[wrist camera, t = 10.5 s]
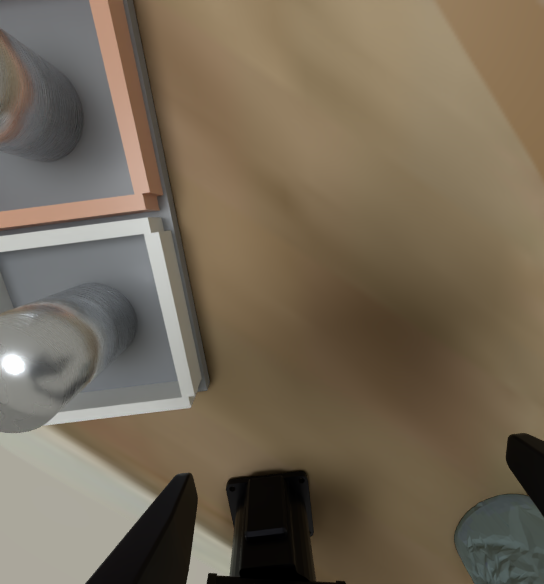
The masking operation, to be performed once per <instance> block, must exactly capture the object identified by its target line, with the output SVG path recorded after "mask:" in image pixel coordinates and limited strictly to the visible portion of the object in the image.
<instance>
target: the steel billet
mask: <svg viewBox="0 0 544 584" xmlns="http://www.w3.org/2000/svg"><path fill="white" fill-rule="evenodd" d="M83 126H84V115H83V108H82V104H81V101H80V98H79V96H78V93H77V91H76V90H75V88H74V86H73V85H72V83H71V82H70V81H69V79H68V78H67V77H66V76H65V75H64V74H63V73H62V72H61V71H60V70H59V69H58V68H56V67H55V66H53V65H52V64H51V63H49V62H48V61H46V60H45V59H44V58H42V57H41V56H39V55H38V54H37V53H35V52H34V51H32V50H31V49H30V48H28V47H27V46H25V45H24V44H23V43H21V42H20V41H19V40H17V39H16V38H14V37H13V36H12V35H10V34H9V33H7V32H6V31H5V30H3V29H2V28H0V152H2V153H6V154H10V155H14V156H18V157H22V158H26V159H30V160H35V161H40V162H51V161H56V160H59V159H62V158H64V157H65V156H67V155H68V154H69V153H71V152H72V151H73V150H74V149H75V147H76V146H77V144H78V143H79V140H80V138H81V135H82V132H83Z"/></svg>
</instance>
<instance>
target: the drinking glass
mask: <svg viewBox="0 0 544 584" xmlns="http://www.w3.org/2000/svg"><path fill="white" fill-rule="evenodd" d="M454 541H455V545H456V549H457V552H458V554H459V556H460V558H461V560H462V562H463V564H464V566H465V567H466V569H467V571H468V573H469V574H470V576H471V578H472V580H473V582H474V584H544V517H543V516H542V514H541V513H540V511H539V510H538V508H537V507H536V505H535V504H534V503H533V501H532V500H531V498H530V497H528V496H525V495H519V494H506V495H498V496H495V497H492V498H490V499H487V500H485V501H483V502H480V503H478V504H477V505H476V506H475V507H473V508H471V510H470V511H468V512H467V513H466V514H465V515H464V517H463V518H462V519H461V521H460V522H459V525H458V526H457V529H456V531H455V535H454Z"/></svg>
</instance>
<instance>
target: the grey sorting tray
mask: <svg viewBox="0 0 544 584" xmlns="http://www.w3.org/2000/svg"><path fill="white" fill-rule="evenodd" d="M0 28H2V29H3V30H5V31H6V32H7V33H9V34H10V35H12V36H13V37H14V38H16V39H17V40H19V41H20V42H21V43H23V44H24V45H25V46H27V47H28V48H30V49H31V50H32V51H34V52H35V53H37V54H38V55H39V56H41V57H42V58H44V59H45V60H46V61H48V62H49V63H51V64H52V65H53V66H55V67H56V68H58V69H59V70H60V71H61V72H62V73H63V74H64V75H65V76H66V77H67V78H68V79H69V81H70V82H71V83H72V85H73V86H74V88H75V90H76V91H77V93H78V96H79V98H80V101H81V104H82V108H83V115H84V126H83V132H82V135H81V138H80V140H79V143H78V144H77V146H76V147H75V149H74V150H73V151H72V152H71V153H69V154H68V155H67V156H65V157H64V158H62V159H59V160H56V161H51V162H40V161H35V160H30V159H26V158H22V157H18V156H14V155H10V154H6V153H2V152H0V313H3V312H6V311H8V310H11V309H14V308H17V307H19V306H22V305H25V304H28V303H30V302H33V301H36V300H39V299H41V298H44V297H47V296H50V295H52V294H55V293H58V292H61V291H64V290H66V289H69V288H72V287H75V286H77V285H80V284H84V283H100V284H105V285H108V286H110V287H112V288H114V289H116V290H118V291H119V292H121V293H122V294H123V295H124V296H125V297H126V298H127V299H128V300H129V301H130V303H131V304H132V306H133V308H134V310H135V313H136V316H137V321H138V327H137V333H136V336H135V338H134V340H133V342H132V343H131V344H130V345H129V346H128V347H127V348H126V349H125V350H124V351H123V352H122V353H121V354H120V355H119V356H118V357H117V358H116V359H115V360H114V361H112V362H111V363H110V364H109V365H108V366H107V367H106V368H105V369H104V370H103V371H102V372H101V373H100V374H99V375H98V376H97V377H95V378H94V379H93V380H92V381H91V382H90V383H89V384H88V385H87V386H86V387H85V388H84V389H83V390H82V391H81V392H80V393H78V394H77V395H76V396H75V397H74V398H73V399H72V400H71V401H70V402H69V403H68V404H67V405H66V406H65V407H64V408H63V409H61V410H60V411H59V412H58V413H57V414H56V415H55V416H54V417H53V418H52V419H51V420H50V421H49V422H47V423H46V424H44V425H52V424H60V423H69V422H77V421H85V420H93V419H102V418H110V417H118V416H126V415H135V414H143V413H151V412H159V411H168V410H176V409H184V408H191V406H192V404H193V401H194V398H195V396H196V393H197V392H199V391H207V390H208V387H209V384H210V380H209V375H208V370H207V365H206V360H205V355H204V350H203V345H202V340H201V335H200V331H199V326H198V321H197V316H196V311H195V306H194V301H193V296H192V291H191V286H190V281H189V276H188V271H187V266H186V261H185V256H184V251H183V246H182V241H181V236H180V231H179V227H178V222H177V217H176V212H175V207H174V202H173V197H172V192H171V187H170V182H169V177H168V172H167V167H166V162H165V157H164V152H163V147H162V142H161V137H160V132H159V128H158V123H157V118H156V113H155V108H154V103H153V98H152V93H151V88H150V83H149V78H148V73H147V68H146V63H145V58H144V53H143V48H142V43H141V38H140V33H139V29H138V24H137V19H136V14H135V9H134V4H133V0H0ZM44 425H43V426H44Z"/></svg>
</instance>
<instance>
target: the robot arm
mask: <svg viewBox="0 0 544 584" xmlns="http://www.w3.org/2000/svg"><path fill="white" fill-rule="evenodd" d="M506 461H507V464H508V466H509V468H510V470H511V471H512V472H513V474H514V475H515V477H516V478H517V480H518V481H519V483H520V484H521V485H522V487H523V488H524V490H525V491H526V493H527V494H528V495H529V497H530V498H531V500H532V501H533V503H534V504H535V505H536V507H537V508H538V510H539V511H540V513H541V514H542V516H543V517H544V441H542V440H540V439H538V438H536V437H533V436H531V435H529V434H526V433H520V434H512V435H510V436H509V437H508V441H507V450H506ZM300 478H302V479H300ZM232 486H233V487H232ZM226 491H227V496H228V501H229V506H230V511H231V515H232V520H233V525H234V537H233V547H232V557H231V567H230V576H217V574H215V573H209V574H208V579H207V584H346V583H345V581H336V583H333V582H316V576H315V569H314V562H313V555H312V548H311V540H310V537H311V536H312V535H313V533H314V531H313V522H312V513H311V504H310V496H309V487H308V479H307V474H306V473H305V472H303V471H299V472H291V473H283V474H274V475H266V476H257V477H249V478H240V479H232V480H229V481H228V482H227V486H226ZM197 502H198V497H197V491H196V487H195V483H194V479H193V476H192V474H191V473H182V474H177V475H176V476H175V477H174V478H173V479H172V480H171V481H170V483H169V484H168V485H167V486H166V487H165V489H164V490H163V491H162V492H161V493H160V495H159V496H158V497H157V498H156V499H155V501H154V502H153V503H152V504H151V505H150V507H149V508H148V509H147V510H146V511H145V513H144V514H143V515H142V516H141V517H140V519H139V520H138V521H137V522H136V523H135V525H134V526H133V527H132V528H131V529H130V531H129V532H128V533H127V534H126V535H125V537H124V538H123V539H122V540H121V541H120V543H119V544H118V545H117V546H116V548H115V549H114V550H113V551H112V552H111V553H110V555H109V556H108V557H107V558H106V559H105V561H104V562H103V563H102V564H101V565H100V567H99V568H98V569H97V570H96V572H95V573H94V574H93V575H92V576H91V578H90V579H89V580H88V581H87V582H86V583H85V584H186V581H187V576H188V571H189V564H190V557H191V549H192V542H193V534H194V526H195V519H196V511H197Z"/></svg>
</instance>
